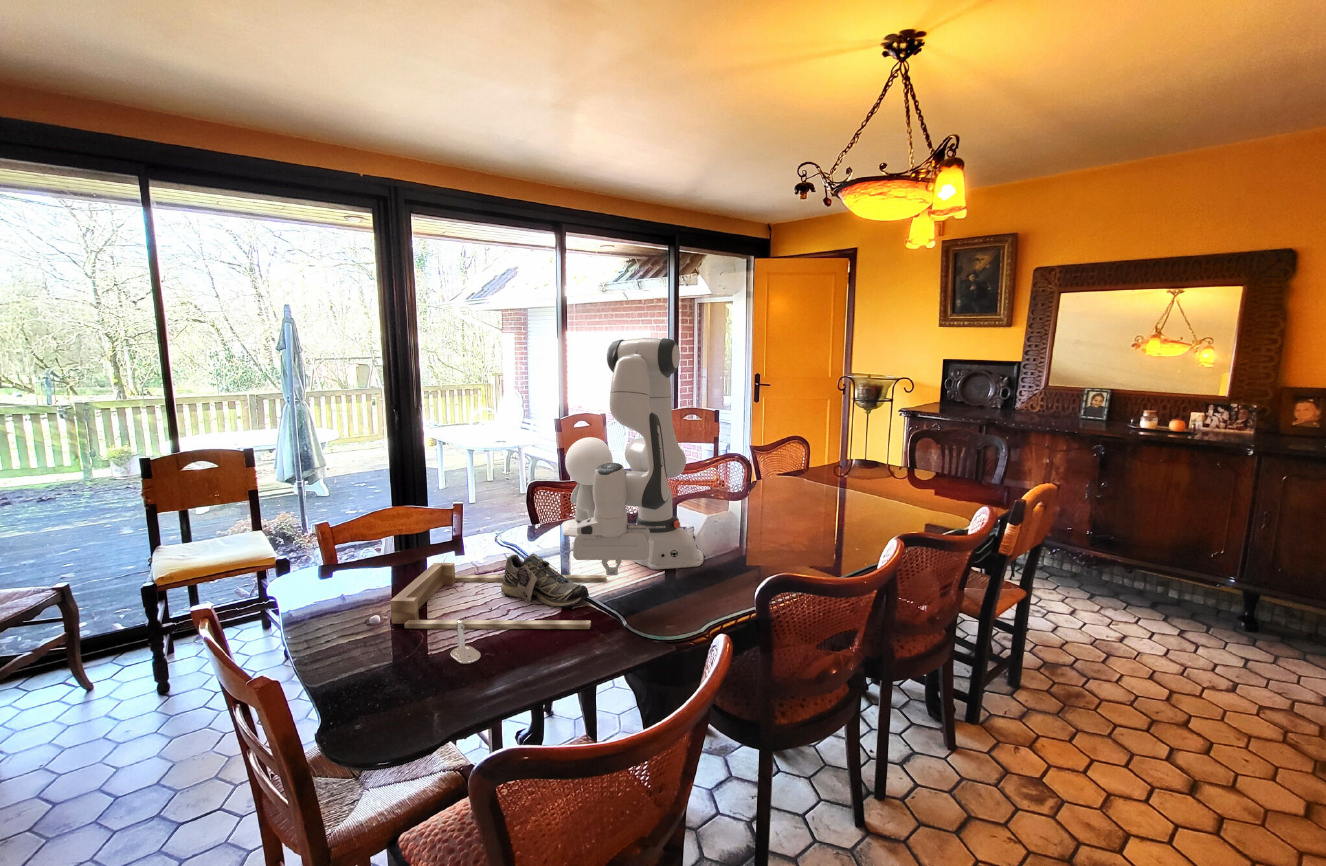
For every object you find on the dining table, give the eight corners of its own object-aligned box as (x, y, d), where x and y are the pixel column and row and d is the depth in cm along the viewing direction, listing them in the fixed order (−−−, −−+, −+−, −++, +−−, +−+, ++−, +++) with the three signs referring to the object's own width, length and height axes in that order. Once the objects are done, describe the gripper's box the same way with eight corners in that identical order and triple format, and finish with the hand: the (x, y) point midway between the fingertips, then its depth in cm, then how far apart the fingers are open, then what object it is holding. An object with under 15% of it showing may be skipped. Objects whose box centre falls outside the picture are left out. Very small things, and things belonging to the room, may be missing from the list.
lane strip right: (606, 578, 172) (606, 575, 172) (605, 581, 170) (605, 577, 170) (454, 578, 174) (453, 575, 174) (451, 581, 172) (451, 577, 172)
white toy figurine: (628, 527, 222) (626, 437, 217) (579, 541, 206) (575, 444, 201) (597, 517, 236) (594, 432, 231) (548, 529, 221) (544, 438, 216)
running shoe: (575, 616, 149) (573, 571, 147) (488, 599, 160) (485, 557, 158) (598, 597, 160) (596, 555, 158) (515, 583, 171) (513, 543, 169)
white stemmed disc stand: (463, 666, 126) (446, 653, 131) (484, 657, 129) (467, 645, 135) (461, 633, 125) (444, 621, 130) (482, 625, 128) (465, 614, 134)
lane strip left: (590, 625, 144) (590, 620, 143) (589, 628, 142) (589, 624, 141) (408, 624, 145) (408, 619, 145) (404, 628, 143) (404, 623, 143)
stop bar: (455, 582, 171) (454, 562, 171) (415, 623, 146) (413, 600, 145) (435, 582, 172) (434, 562, 171) (392, 623, 146) (390, 600, 145)
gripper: (650, 521, 156) (651, 570, 158) (575, 521, 157) (577, 570, 159) (649, 528, 150) (650, 579, 152) (570, 528, 151) (572, 579, 153)
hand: (612, 574), depth 156 cm, fingers closed
